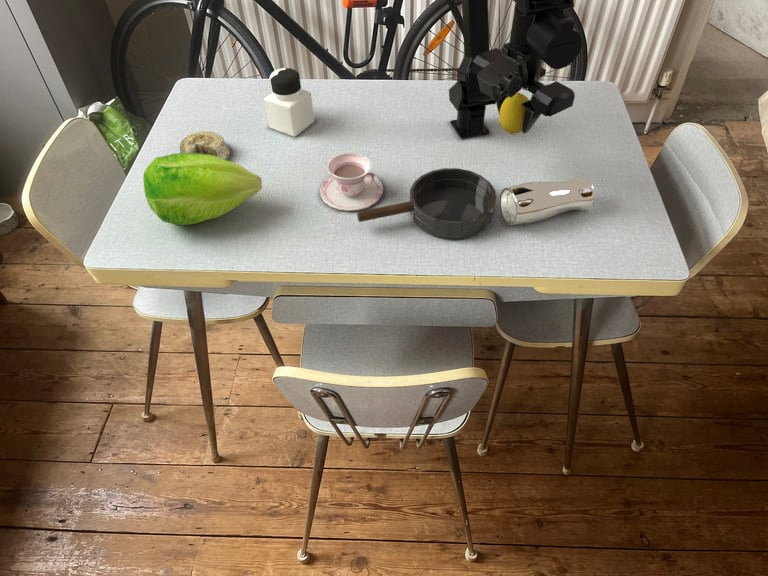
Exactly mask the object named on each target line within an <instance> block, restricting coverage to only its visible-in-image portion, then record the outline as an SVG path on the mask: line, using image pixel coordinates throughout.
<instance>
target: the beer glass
mask: <svg viewBox="0 0 768 576" xmlns="http://www.w3.org/2000/svg"><path fill="white" fill-rule="evenodd" d="M594 202H595V189H594V186H593V183H592V181H591V180H590V179H589V177H588V176H585V175H580V176H576V177H573V178H572V179H568V180H564V181H531V182H525V183H520V184H515V185H512V186H508V187H504V188H503V189H502V190H501V192H500V196H499V209H500V213H501V216H502V218H503V221H504V222H505V223H506V224H507V225H508V226H516V225H525V224H526V225H527V224H531V223H532V224H533V223H537V222H541V221H544V220H547V219H550V218H553V217H555V216H558V215H561V214H563V213H565V212H570V211H587V210H590V209H591V208H592V206H593V204H594Z"/></svg>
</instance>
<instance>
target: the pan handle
mask: <svg viewBox="0 0 768 576" xmlns="http://www.w3.org/2000/svg"><path fill="white" fill-rule="evenodd" d="M413 204H414V203H413V201H410V200H408V201H403V202H399V203H393V204H390V205H384V206H379V207H374V208H370V209H363V210H358V211H357V212H356V218H357V221H358V222H359V223H361V222H362V223H363V222H366V221H371V220H375V219H382V218H386V217H387V218H388V217H391V216H396V215H401V214H405V213H410V212H411V211H413Z"/></svg>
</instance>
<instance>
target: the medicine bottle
mask: <svg viewBox="0 0 768 576" xmlns="http://www.w3.org/2000/svg"><path fill="white" fill-rule="evenodd" d="M300 77H301V76H300V73H299V72H298V71H297V70H296V69H293V68H290V67H283V68H282V67H281V68H278V69H275V70H274V71H272V72H271V74H270V75H269V83H270V88H271V93H270V94H268V95H267V96H266V97H264V98H263V100H264V105H265V111H266V116H267V121H268V125H269V126H268V127H269V128H270V129H272V130H275V131H278V132H280V133H283V134H286V135H288V136H291V137H293V138H294V137H297V136H298V135H299V134H300V133H302V132H303V131H304V130H306V129H307V128H308V127H310V126H311V125H312V124H313V123H314V122H315V115H314V107H313V105H314V104H313V100H312V99H313V97H312V92H311V91H309V90H305V89H303V88H302V84H301V78H300Z"/></svg>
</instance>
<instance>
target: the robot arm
mask: <svg viewBox="0 0 768 576" xmlns="http://www.w3.org/2000/svg"><path fill="white" fill-rule="evenodd" d="M512 1H513V2H514V8H513V9H514V10H513V16H512V17H513V18H512V24H511V30H510V36H509V41H508V42H506V43H504V44H503V47H502V48H501V49H499V48H497V47H495V48H492V49H490V24H489V23H490V22H489V21H490V19H489V17H490V16H489V0H461V14H462V15H461V16H462V17H461V18H462V33H463V34H462V36H463V52H464V53H463V55H464V56H463V58H462V61H461V62H460V64H459V66H458V69H457V71H456V82H455V83H454V84H453V85H452V86H451V87H450V88H449V89H448V100H449V102H450V103H451V105H452V106H453V107H454V109H455V110H456V111H457V113H456V119H452V120H450V125H451V127H452V128H453V130H455V133H456V134H457V135H458V138H460V139H461V140H463V139H467V138H474V137H479V136H483V135H484V136H485V135H489V134H490V130H489V128H488V127H487V126H486V124H485V117H486V109H487V106H490V105H491V106H492V105H496V107H497V112H498V114H499V112H500V108H501V106H502V104H503V102H504V100H505V99H506V98H507V97H510V98H511V97H513V96H514V95H515V94H516V93H520V91H521V90H523V91H526V92H529V93H531V96H530V99H529V101H526V102H524V103H522V104H521V105H522V106H523V107H524V108H525V115H524V121H523V128H522V131H521V132H522V134H526V133H528V132H529V131H530V130H531V129H532V128H533V126H534V124H535V123H536V122H537V121H538V119H539V118H540V116H541V115H542V116H544V117H552V116H554V115H557V114H559V113H561V112H563V111H565V110H567V109H569V108H571V107H573V106H574V102H575V98H576V93H575V91H574V90H573V89H572V88H570V87H568V86H566V85H564V84H563V83H561V82H559V81H557V80H555V81H554V82H551V83H547V84H545V83H543V82H541V81H540V79H541V78H542V77H545V76H546V73H547V69H546V68H544V67H543V63H545V64H546V65H547V66H548V67H549V68H551V69H553V70H561V69H564V68H566V67H568V66H570V65H571V64H572V63H573V62H574V61H575V60H576V59H577V58H578V57H579V54H580V53H581V50H582V48H583V43H582V42H583V41H582V36H581V34H580V32H579V31H578V30H576V29H575V24H576V21H575V20H574V19H573V18H572V17H571V16H568V15H567V14H566V13H564V11H565V10H570V9H574V7H575V2H574V0H512Z"/></svg>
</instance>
